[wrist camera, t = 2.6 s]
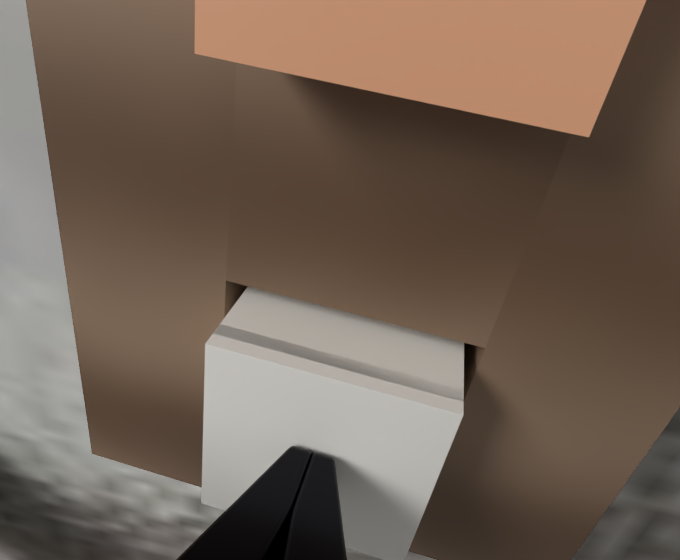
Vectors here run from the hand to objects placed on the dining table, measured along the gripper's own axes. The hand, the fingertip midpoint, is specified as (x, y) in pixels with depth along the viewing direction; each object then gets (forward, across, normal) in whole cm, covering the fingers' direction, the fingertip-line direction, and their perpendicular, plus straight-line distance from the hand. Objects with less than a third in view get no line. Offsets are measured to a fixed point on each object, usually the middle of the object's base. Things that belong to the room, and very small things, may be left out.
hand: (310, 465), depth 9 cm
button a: (+4, 0, 0) cm, 4 cm away
